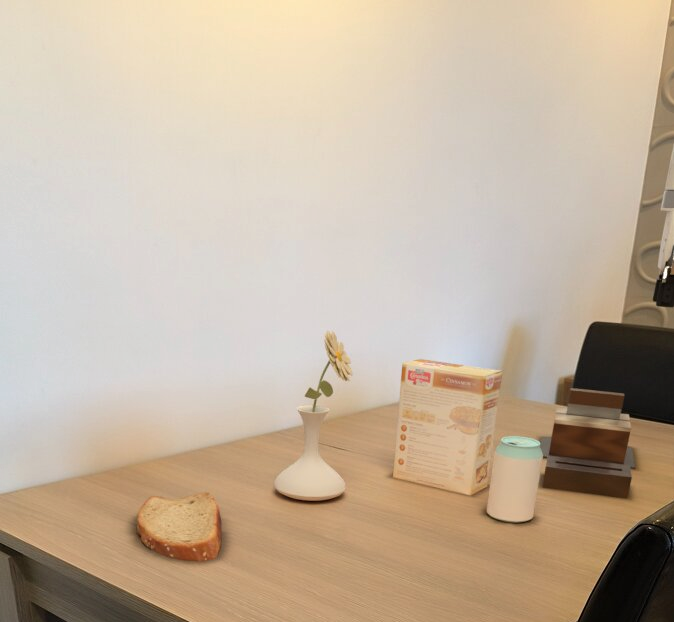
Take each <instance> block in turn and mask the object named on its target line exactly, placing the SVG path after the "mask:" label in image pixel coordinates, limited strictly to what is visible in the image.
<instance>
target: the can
mask: <svg viewBox="0 0 674 622" xmlns="http://www.w3.org/2000/svg"><path fill="white" fill-rule="evenodd" d="M540 444H541V441H539V440H537V439H534V438H531V437H526V436H519V435H510V436H508V435H507V436H504V437H502V438H501V439H500V443H499V444H498V445H497V446H496V447H495V449H494V455H493V462H492V471H491V477H490V483H489V490H488V491H489V492H488V497H487V498H488V499H487V504H486V513H487V514H488V515H489V516H490V517H491V518H493V519H495V520H496V521H501V522H505V523H515V524H516V523H517V524H518V523H524V522H527V521H530V520H532V519H533V517H534V513H535V509H536V508H535V507H536V502H537V495H538V489H539V483H540V477H541V472H542V471H541V470H542V465H543V460H544V458H543V453H542V451H541V448H540Z"/></svg>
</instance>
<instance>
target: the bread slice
mask: <svg viewBox="0 0 674 622" xmlns="http://www.w3.org/2000/svg"><path fill="white" fill-rule="evenodd" d="M136 533H137V534H138V535H139V536H140V539H141V542H142V543H143V544H144V545H145V546H146V547H147V548H149V549H151V550H152V551H153V552H155V553H157V554H159V555H162V556H165V557H167V558H170V559H175V560H180V561H187V562H199V563H200V562H207V561H211V560H214V559H216V558H217V557H218V556H219V551H220V550H221V549H220V548H221V546H222V517H221V512H220V508H219V506H218V504H217V502H216V500H215V498H214V496H212V494H211V493H210V492H208V491H206V492H202V493H197V494H192V495H188V496H185V497H182V498H169V497H163V496H159V495H152V496H150V497H148V498H147V499H146V500H145V501H144V503H143V504H142V505H141V507H140V508H139V511H138V514H137V516H136Z"/></svg>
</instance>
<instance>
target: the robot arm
mask: <svg viewBox="0 0 674 622" xmlns="http://www.w3.org/2000/svg"><path fill="white" fill-rule="evenodd" d="M672 145H673V146H672V151H671V156H670V161H669V166H668V171H667V176H666V182H665V186H664V190H663V195H662V201H661V206H660V212H666V215H665V220H664V224H663V230H662V236H661V241H660V246H659V253H658V259H657V260H658V262H657V268H658V269H659V273H658V275H657V276H658V277H657V279H656V282H655V286H654V291H653V296H652V301H653V302H654V303H655V306H656V307H661V308H674V144H672Z"/></svg>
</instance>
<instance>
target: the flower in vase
mask: <svg viewBox="0 0 674 622" xmlns="http://www.w3.org/2000/svg"><path fill="white" fill-rule="evenodd" d="M337 337H338V336H337V334H336V333H335V332H334V331H333V330H332V331H331V333H330V330H326V333H325V334H324V338H323V339H324V347H325V351H326V354H327V357H328V362H327V363H326V365H325V366H324V368H323V371H322V373H321V375H320V378H319V380H318V386H317V389H316V390H315V389H314V388H312V387H308V389H307V391H306V392H305V394H304V397H305V398H308V399H311V400H313V404H305V405H299V406H297V407H296V411H297V412H298V413H299V415H300V417H301V420H302V425H303V431H304V432H303V433H304V446H303V452H302V454H301V456H300V457H299V458H298V459H297V460H296V461H295V462H293V463H291V465H289V466H287V467H286V468H284V470H283V471H281V472H280V473H279V474H278V475H277V477H275V480H274V482H273V487H274V488H275V490H276V491H277V492H278V493H280V494H281V495H284V496H286V497H289V498H291V499H294V500H301V501H307V502H308V501H310V502H311V501H313V502H314V501H315V502H317V501H326V500H330V499H333V498H337V497H339V496H341V495H342V494H343V493H344V491H345V490H346V489H347V486H346V483H345V480H344V479H343V478H342V477H341V475H340V474H339V473H338V472H337V471H336V470H335V469H334V468H332V466H330V465H329V464H328V463H326V462H325V461H324V459H323V457H321V454H320V436H321V435H320V434H321V429H322V425H323V422H324V420H325V418H326V416H327V414H329V412H330V408H329V407H326V406H323V405H317V402H318V399H319V398H320V397H321V396H322V395H324V396H325V397H327V398H329V397H331V396H332V395H333V393H334V390H333V385H332V384H331V383H330V382H329V381H327V380H325V379H324V376H325V374H326V372H327V370H328V369H329V366H331V367H332V368H333V370H334V372H335V373H336V376H337V377H338V378H341V380H342V381H345V382H350V381H351V379H350V376H351V377H353V371H352V368H351V366H350V364H351V363H352V361H351V359H350V357H349V356H348V355H347V353H346V351H345V345H344V343H343V342H342V341H340V342H339V341H338V339H337ZM320 391H321V392H320Z"/></svg>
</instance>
